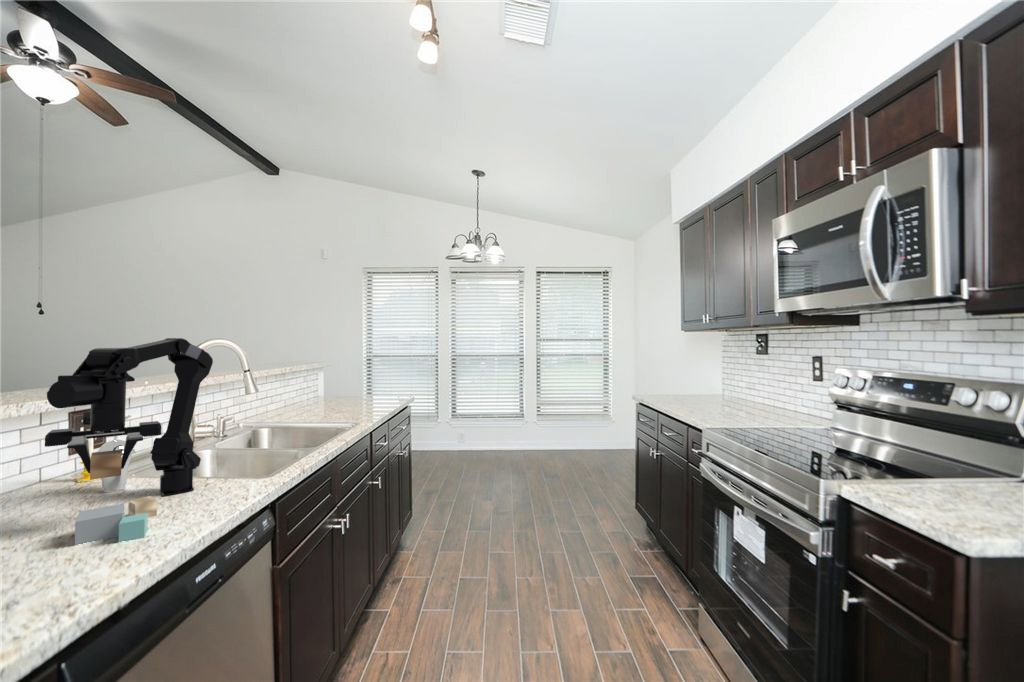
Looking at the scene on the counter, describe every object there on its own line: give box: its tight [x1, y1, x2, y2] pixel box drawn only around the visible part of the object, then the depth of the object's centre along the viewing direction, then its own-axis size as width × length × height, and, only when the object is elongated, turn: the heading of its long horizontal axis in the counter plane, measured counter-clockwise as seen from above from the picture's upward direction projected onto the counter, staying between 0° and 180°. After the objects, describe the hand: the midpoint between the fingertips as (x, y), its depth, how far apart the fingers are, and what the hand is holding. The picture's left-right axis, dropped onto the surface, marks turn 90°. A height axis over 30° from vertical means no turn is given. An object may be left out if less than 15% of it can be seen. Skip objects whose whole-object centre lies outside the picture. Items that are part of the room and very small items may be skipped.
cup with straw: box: [97, 414, 136, 493], centre depth 115 cm, size 8×9×20 cm
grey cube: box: [74, 503, 125, 546], centre depth 88 cm, size 7×7×5 cm
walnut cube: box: [90, 450, 122, 480], centre depth 94 cm, size 5×5×5 cm
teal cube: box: [118, 513, 149, 543], centre depth 88 cm, size 4×4×4 cm
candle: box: [76, 427, 95, 481], centre depth 123 cm, size 5×5×16 cm
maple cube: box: [127, 495, 158, 519], centre depth 97 cm, size 4×4×4 cm
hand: (106, 470), depth 94 cm, fingers closed on walnut cube, 5 cm apart
